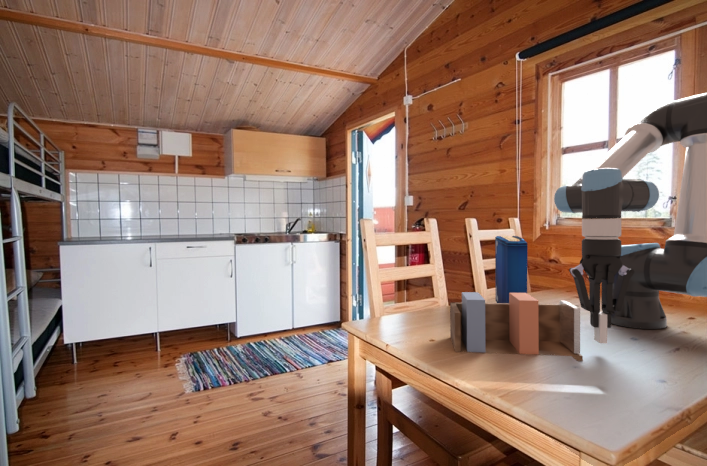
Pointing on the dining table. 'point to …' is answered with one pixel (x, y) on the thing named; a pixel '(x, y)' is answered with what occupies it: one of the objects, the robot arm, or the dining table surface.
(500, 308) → the shelf
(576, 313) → the bookend
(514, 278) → the book
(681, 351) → the dining table surface
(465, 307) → the book
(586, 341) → the dining table surface
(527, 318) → the book
